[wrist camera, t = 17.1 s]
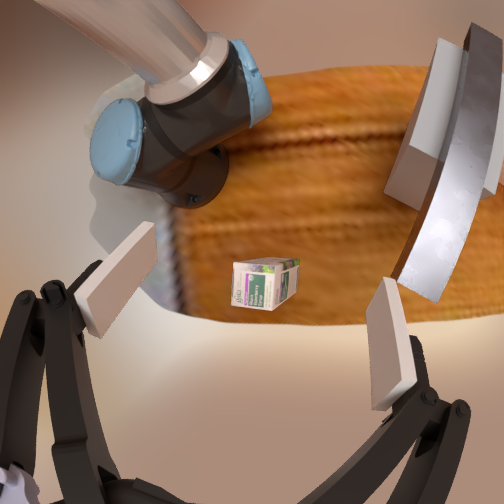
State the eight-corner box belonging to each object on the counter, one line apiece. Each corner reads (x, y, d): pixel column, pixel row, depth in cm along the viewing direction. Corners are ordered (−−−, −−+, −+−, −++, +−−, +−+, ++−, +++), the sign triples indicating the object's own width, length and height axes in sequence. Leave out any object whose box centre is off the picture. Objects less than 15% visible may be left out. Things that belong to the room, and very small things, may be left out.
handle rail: (390, 276, 21) (396, 281, 18) (463, 41, 16) (471, 21, 13) (425, 295, 20) (436, 303, 17) (492, 57, 15) (502, 39, 12)
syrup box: (297, 292, 48) (274, 312, 34) (264, 289, 50) (229, 306, 36) (300, 258, 48) (277, 265, 34) (265, 256, 50) (231, 261, 36)
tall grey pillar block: (382, 192, 43) (408, 144, 20) (409, 122, 40) (438, 37, 18) (430, 217, 40) (494, 194, 17) (454, 145, 37) (512, 79, 15)
